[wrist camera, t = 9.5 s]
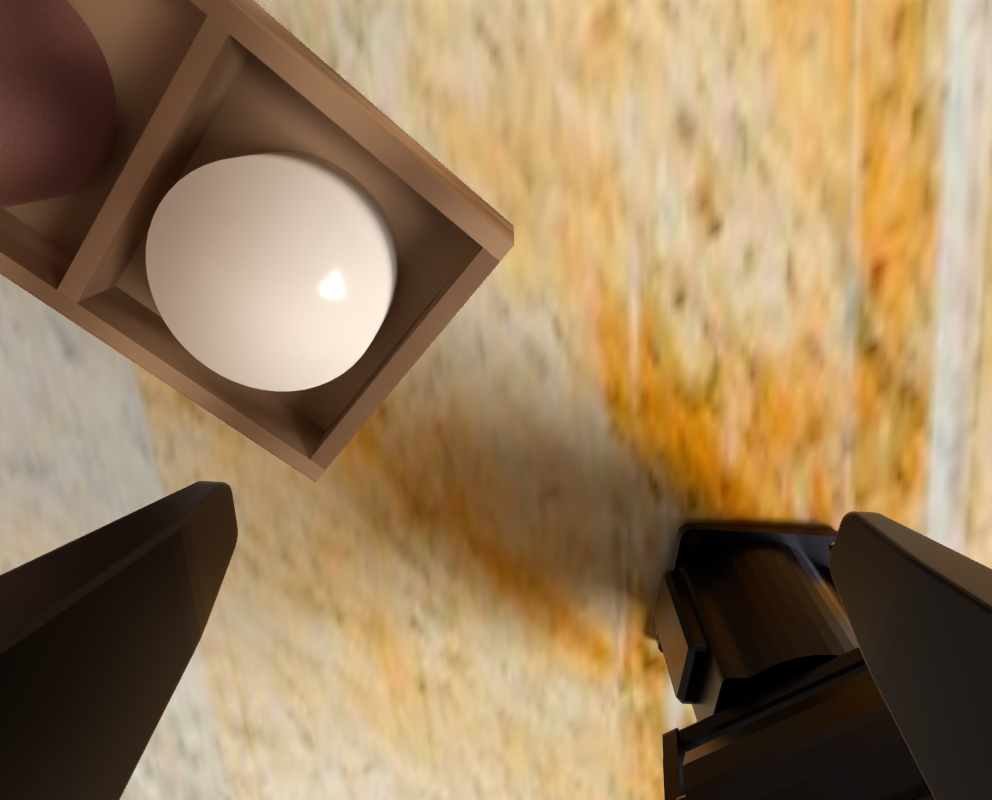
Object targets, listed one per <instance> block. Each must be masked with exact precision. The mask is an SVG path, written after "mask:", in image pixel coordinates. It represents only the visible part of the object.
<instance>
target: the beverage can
mask: <svg viewBox="0 0 992 800" xmlns="http://www.w3.org/2000/svg"><path fill="white" fill-rule="evenodd" d="M116 126H117V98H116V92H115V86H114V82H113V78H112V75H111V72H110V69H109V66H108V64H107V61H106V59H105V57H104V54H103V52H102V50H101V48H100V46H99V44H98V42H97V41H96V39H95V37H94V36H93V34H92V32H91V31H90V29H89V28H88V26H87V25H86V23H85V22H84V20H83V19H82V18H81V16H80V15H79V14H78V13H77V11H76V10H75V9H74V8H73V7H72V6H71V4H70V3H69V2H68V1H67V0H0V209H1V208H6V207H11V206H16V205H22V204H27V203H32V202H37V201H42V200H48V199H53V198H58V197H61V196H65V195H67V194H70V193H72V192H74V191H76V190H78V189H80V188H81V187H83V186H84V185H86V184H87V183H88V182H89V181H91V180H92V179H93V178H94V177H95V176H96V174H97V173H98V172H99V171H100V169H101V168H102V166H103V165H104V163H105V162H106V160H107V158H108V156H109V153H110V151H111V148H112V145H113V142H114V137H115V133H116Z"/></svg>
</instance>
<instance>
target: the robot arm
mask: <svg viewBox="0 0 992 800" xmlns="http://www.w3.org/2000/svg"><path fill="white" fill-rule="evenodd" d="M692 534H696V537H694V538H691V539H689V538H688V536H690V535H692ZM237 537H238V528H237V521H236V515H235V508H234V502H233V495H232V490H231V488H230V486H229V485H228V484H227V483H225V482H211V481H199V482H196V483H194V484H192V485H190V486H188V487H186V488H183V489H181V490H179V491H177V492H175V493H173V494H171V495H169V496H167V497H164V498H162V499H160V500H158V501H156V502H154V503H152V504H150V505H148V506H145V507H143V508H141V509H139V510H137V511H135V512H133V513H131V514H129V515H127V516H124V517H122V518H120V519H118V520H116V521H114V522H112V523H110V524H108V525H105V526H103V527H101V528H99V529H97V530H95V531H93V532H91V533H89V534H86V535H84V536H82V537H80V538H78V539H76V540H74V541H72V542H70V543H67V544H65V545H63V546H61V547H59V548H57V549H55V550H53V551H51V552H48V553H46V554H44V555H42V556H40V557H38V558H36V559H34V560H32V561H29V562H27V563H25V564H23V565H21V566H19V567H17V568H15V569H13V570H11V571H8V572H6V573H4V574H2V575H0V800H119V799H120V798H121V796H122V794H123V792H124V790H125V788H126V786H127V784H128V782H129V780H130V778H131V776H132V774H133V772H134V770H135V768H136V766H137V764H138V762H139V760H140V758H141V756H142V754H143V752H144V750H145V748H146V746H147V744H148V742H149V740H150V738H151V736H152V734H153V732H154V730H155V728H156V726H157V725H158V723H159V721H160V719H161V717H162V715H163V713H164V711H165V709H166V707H167V705H168V703H169V701H170V699H171V697H172V695H173V693H174V691H175V689H176V687H177V685H178V683H179V681H180V679H181V677H182V675H183V673H184V671H185V669H186V667H187V665H188V663H189V661H190V659H191V657H192V655H193V654H194V651H195V649H196V647H197V645H198V643H199V641H200V639H201V637H202V634H203V632H204V629H205V627H206V624H207V622H208V619H209V617H210V614H211V611H212V608H213V606H214V603H215V600H216V598H217V595H218V592H219V590H220V587H221V584H222V581H223V579H224V576H225V573H226V571H227V568H228V565H229V563H230V560H231V557H232V555H233V552H234V549H235V546H236V543H237ZM832 542H834V544H833V545H831V546H829V545H830V544H831V543H832ZM654 622H655V626H656V629H657V637H656V640H657V645H658V648H659V650H660V651H661V652H662V653H663V654H664V657H665V661H666V664H667V668H668V671H669V675H670V678H671V682H672V685H673V689H674V692H675V696H676V697H677V699H678V700H679V701H680V702H681V703H683V704H692V706H693V709H694V713H695V716H696V719H697V722H696V723H694V724H691V725H689V726H687V727H685V728H683V729H681V730H679V729H678V728H675V729H673V730H671V731H669V732H667V733H665V734H663V771H664V792H665V800H992V569H990V568H988V567H986V566H984V565H982V564H980V563H978V562H976V561H974V560H972V559H970V558H968V557H966V556H964V555H962V554H960V553H958V552H956V551H954V550H952V549H950V548H948V547H946V546H944V545H942V544H940V543H938V542H936V541H934V540H932V539H930V538H928V537H926V536H924V535H922V534H920V533H918V532H916V531H913V530H911V529H909V528H907V527H905V526H903V525H901V524H899V523H897V522H895V521H893V520H891V519H889V518H887V517H885V516H883V515H881V514H879V513H874V512H849V513H847V514H846V515H845V516H844V517H843V519H842V521H841V524H840V527H839V530H838V531H835V530H822V529H803V528H783V527H764V526H745V525H725V524H706V523H688V524H685V525H683V526H682V527H681V528H680V529H679V532H678V535H677V540H676V545H675V550H674V555H673V560H672V564H671V569H670V570H667V571H666V572H665V573H664V574H663V577H662V582H661V587H660V592H659V597H658V602H657V607H656V612H655V617H654Z"/></svg>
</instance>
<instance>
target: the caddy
mask: <svg viewBox="0 0 992 800" xmlns="http://www.w3.org/2000/svg"><path fill="white" fill-rule="evenodd" d="M67 1H68V2H69V3H70V4H71V6H72V7H73V8H74V9H75V10H76V11H77V13H78V14H79V15H80V16H81V18H82V19H83V20H84V22H85V23H86V25H87V26H88V28H89V29H90V31H91V32H92V34H93V36H94V37H95V39H96V41H97V42H98V44H99V46H100V48H101V50H102V52H103V54H104V57H105V59H106V61H107V64H108V66H109V69H110V72H111V75H112V78H113V82H114V86H115V92H116V98H117V126H116V133H115V137H114V142H113V145H112V148H111V151H110V153H109V156H108V158H107V160H106V162H105V163H104V165H103V166H102V168H101V169H100V171H99V172H98V173H97V174H96V176H95V177H94V178H93V179H92V180H91V181H89V182H88V183H87V184H86V185H84V186H83V187H81V188H80V189H78V190H76V191H74V192H72V193H70V194H67V195H65V196H61V197H58V198H53V199H48V200H42V201H37V202H32V203H27V204H22V205H16V206H11V207H6V208H1V209H0V274H2V275H3V276H5V277H6V278H8V279H9V280H11V281H12V282H14V283H15V284H17V285H18V286H20V287H21V288H23V289H24V290H26V291H27V292H29V293H30V294H32V295H33V296H35V297H36V298H38V299H39V300H41V301H42V302H44V303H45V304H47V305H48V306H50V307H51V308H53V309H54V310H56V311H58V312H59V313H61V314H62V315H64V316H65V317H67V318H68V319H70V320H71V321H73V322H74V323H76V324H77V325H79V326H80V327H82V328H83V329H85V330H86V331H88V332H89V333H91V334H92V335H94V336H95V337H97V338H98V339H100V340H101V341H103V342H104V343H106V344H107V345H109V346H110V347H112V348H113V349H115V350H116V351H118V352H119V353H121V354H122V355H124V356H126V357H127V358H129V359H130V360H132V361H133V362H135V363H136V364H138V365H139V366H141V367H142V368H144V369H145V370H147V371H148V372H150V373H151V374H153V375H154V376H156V377H157V378H159V379H160V380H162V381H163V382H165V383H166V384H168V385H169V386H171V387H172V388H174V389H175V390H177V391H178V392H180V393H181V394H183V395H184V396H186V397H187V398H189V399H190V400H192V401H194V402H195V403H197V404H198V405H200V406H201V407H203V408H204V409H206V410H207V411H209V412H210V413H212V414H213V415H215V416H216V417H218V418H219V419H221V420H222V421H224V422H225V423H227V424H228V425H230V426H231V427H233V428H234V429H236V430H237V431H239V432H240V433H242V434H243V435H245V436H246V437H248V438H249V439H251V440H252V441H254V442H255V443H257V444H259V445H260V446H262V447H263V448H265V449H266V450H268V451H269V452H271V453H272V454H274V455H275V456H277V457H278V458H280V459H281V460H283V461H284V462H286V463H287V464H289V465H290V466H292V467H293V468H295V469H296V470H298V471H299V472H301V473H302V474H304V475H305V476H307V477H308V478H310V479H311V480H313V481H314V482H315V481H316V480H317V479H318V478H319V477H320V475H321V474H322V473H323V472H324V471H325V470H326V468H327V467H328V466H329V465H330V464H331V462H332V461H333V460H334V459H335V458H336V456H337V455H338V454H339V453H340V452H341V450H342V449H343V448H344V447H345V446H346V445H347V443H348V442H349V441H350V440H351V439H352V437H353V436H354V435H355V434H356V433H357V431H358V430H359V429H360V428H361V427H362V425H363V424H364V423H365V422H366V421H367V419H368V418H369V417H370V416H371V415H372V414H373V412H374V411H375V410H376V409H377V408H378V406H379V405H380V404H381V403H382V402H383V400H384V399H385V398H386V397H387V396H388V394H389V393H390V392H391V391H392V390H393V388H394V387H395V386H396V385H397V384H398V383H399V381H400V380H401V379H402V378H403V377H404V375H405V374H406V373H407V372H408V371H409V369H410V368H411V367H412V366H413V365H414V363H415V362H416V361H417V360H418V359H419V358H420V356H421V355H422V354H423V353H424V352H425V350H426V349H427V348H428V347H429V346H430V344H431V343H432V342H433V341H434V340H435V338H436V337H437V336H438V335H439V334H440V332H441V331H442V330H443V329H444V328H445V327H446V325H447V324H448V323H449V322H450V321H451V319H452V318H453V317H454V316H455V315H456V313H457V312H458V311H459V310H460V309H461V307H462V306H463V305H464V304H465V303H466V301H467V300H468V299H469V298H470V297H471V296H472V294H473V293H474V292H475V291H476V290H477V288H478V287H479V286H480V285H481V284H482V282H483V281H484V280H485V279H486V278H487V276H488V275H489V274H490V273H491V272H492V271H493V269H494V268H495V267H496V266H497V265H498V263H499V262H500V261H501V260H502V259H503V257H504V256H505V255H506V254H507V253H508V251H509V250H510V249H511V248H512V247H513V245H514V232H513V225H512V224H511V223H509V222H508V221H507V220H506V219H505V218H504V217H503V216H501V215H500V214H499V213H498V212H497V211H496V210H494V209H493V208H492V207H491V206H490V205H489V204H488V203H486V202H485V201H484V200H483V199H482V198H481V197H479V196H478V195H477V194H476V193H475V192H474V191H473V190H471V189H470V188H469V187H468V186H467V185H466V184H464V183H463V182H462V181H461V180H460V179H459V178H457V177H456V176H455V175H454V174H453V173H452V172H451V171H449V170H448V169H447V168H446V167H445V166H444V165H442V164H441V163H440V162H439V161H438V160H437V159H436V158H434V157H433V156H432V155H431V154H430V153H429V152H427V151H426V150H425V149H424V148H423V147H422V146H421V145H419V144H418V143H417V142H416V141H415V140H414V139H412V138H411V137H410V136H409V135H408V134H407V133H406V132H404V131H403V130H402V129H401V128H400V127H399V126H397V125H396V124H395V123H394V122H393V121H392V120H390V119H389V118H388V117H387V116H386V115H385V114H384V113H382V112H381V111H380V110H379V109H378V108H377V107H375V106H374V105H373V104H372V103H371V102H370V101H369V100H367V99H366V98H365V97H364V96H363V95H362V94H360V93H359V92H358V91H357V90H356V89H355V88H354V87H352V86H351V85H350V84H349V83H348V82H347V81H345V80H344V79H343V78H342V77H341V76H340V75H339V74H337V73H336V72H335V71H334V70H333V69H332V68H330V67H329V66H328V65H327V64H326V63H325V62H323V61H322V60H321V59H320V58H319V57H318V56H317V55H315V54H314V53H313V52H312V51H311V50H310V49H308V48H307V47H306V46H305V45H304V44H303V43H302V42H300V41H299V40H298V39H297V38H296V37H295V36H293V35H292V34H291V33H290V32H289V31H288V30H287V29H285V28H284V27H283V26H282V25H281V24H280V23H278V22H277V21H276V20H275V19H274V18H273V17H272V16H270V15H269V14H268V13H267V12H266V11H265V10H263V9H262V8H261V7H260V6H259V5H258V4H256V3H255V2H254V1H253V0H67ZM272 151H293V152H301V153H306V154H309V155H313V156H317V157H319V158H322V159H324V160H327V161H329V162H331V163H333V164H335V165H337V166H339V167H340V168H342V169H344V170H345V171H347V172H348V173H349V174H351V175H352V176H353V177H355V178H356V179H357V180H358V181H359V182H360V183H361V184H363V185H364V186H365V187H366V188H367V189H368V190H369V192H370V193H371V194H372V195H373V196H374V198H375V199H376V200H377V201H378V203H379V205H380V206H381V208H382V209H383V211H384V212H385V214H386V216H387V218H388V220H389V222H390V224H391V227H392V229H393V232H394V235H395V238H396V242H397V247H398V252H399V262H400V275H399V284H398V289H397V294H396V296H395V299H394V302H393V305H392V307H391V309H390V311H389V313H388V315H387V317H386V318H385V320H384V322H383V324H382V325H381V327H380V329H379V330H378V332H377V334H376V335H375V337H374V339H373V340H372V342H371V344H370V345H369V347H368V348H367V350H366V351H365V352H364V354H363V355H362V356H361V358H360V359H359V360H358V361H357V362H356V363H355V364H354V365H353V366H352V367H351V368H349V369H348V370H347V371H346V372H344V373H343V374H341V375H340V376H338V377H336V378H335V379H333V380H331V381H329V382H327V383H324V384H322V385H319V386H316V387H312V388H309V389H305V390H297V391H269V390H261V389H257V388H252V387H248V386H245V385H242V384H239V383H237V382H234V381H232V380H230V379H227V378H225V377H223V376H221V375H219V374H218V373H216V372H214V371H213V370H211V369H210V368H208V367H206V366H205V365H204V364H203V363H201V362H200V361H199V360H197V359H196V358H195V357H194V356H193V355H192V354H191V353H190V352H188V351H187V350H186V349H185V348H184V347H183V346H182V344H181V343H180V342H179V341H178V340H177V339H176V337H175V336H174V335H173V334H172V332H171V331H170V329H169V328H168V326H167V325H166V323H165V322H164V320H163V318H162V316H161V314H160V312H159V310H158V308H157V306H156V304H155V301H154V298H153V296H152V293H151V290H150V286H149V282H148V278H147V269H146V243H147V237H148V231H149V228H150V225H151V221H152V218H153V216H154V214H155V212H156V210H157V208H158V206H159V204H160V202H161V201H162V200H163V198H164V197H165V195H166V194H167V193H168V191H169V190H170V189H171V188H172V187H173V186H174V185H175V184H176V183H177V182H178V181H179V180H181V179H182V178H183V177H185V176H186V175H188V174H189V173H190V172H192V171H194V170H196V169H198V168H200V167H202V166H204V165H206V164H209V163H213V162H216V161H219V160H223V159H230V158H236V157H242V156H248V155H254V154H260V153H266V152H272Z"/></svg>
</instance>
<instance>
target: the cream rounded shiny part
mask: <svg viewBox="0 0 992 800" xmlns="http://www.w3.org/2000/svg"><path fill="white" fill-rule="evenodd" d="M146 269H147V278H148V282H149V286H150V290H151V293H152V296H153V298H154V301H155V304H156V306H157V308H158V310H159V312H160V314H161V316H162V318H163V320H164V322H165V323H166V325H167V326H168V328H169V329H170V331H171V332H172V334H173V335H174V336H175V337H176V339H177V340H178V341H179V342H180V343H181V344H182V346H183V347H184V348H185V349H186V350H187V351H188V352H190V353H191V354H192V355H193V356H194V357H195V358H196V359H197V360H199V361H200V362H201V363H203V364H204V365H205V366H206V367H208V368H210V369H211V370H213V371H214V372H216V373H218V374H219V375H221V376H223V377H225V378H227V379H230V380H232V381H234V382H237V383H239V384H242V385H245V386H248V387H252V388H257V389H261V390H269V391H297V390H305V389H309V388H312V387H316V386H319V385H322V384H324V383H327V382H329V381H331V380H333V379H335V378H336V377H338V376H340V375H341V374H343V373H344V372H346V371H347V370H348V369H349V368H351V367H352V366H353V365H354V364H355V363H356V362H357V361H358V360H359V359H360V358H361V356H362V355H363V354H364V352H365V351H366V350H367V348H368V347H369V345H370V344H371V342H372V340H373V339H374V337H375V335H376V334H377V332H378V330H379V329H380V327H381V325H382V324H383V322H384V320H385V318H386V317H387V315H388V313H389V311H390V309H391V307H392V305H393V302H394V299H395V296H396V294H397V289H398V284H399V275H400V262H399V252H398V247H397V242H396V238H395V235H394V232H393V229H392V227H391V224H390V222H389V220H388V218H387V216H386V214H385V212H384V211H383V209H382V208H381V206H380V205H379V203H378V201H377V200H376V199H375V198H374V196H373V195H372V194H371V193H370V192H369V190H368V189H367V188H366V187H365V186H364V185H363V184H361V183H360V182H359V181H358V180H357V179H356V178H355V177H353V176H352V175H351V174H349V173H348V172H347V171H345V170H344V169H342V168H340V167H339V166H337V165H335V164H333V163H331V162H329V161H327V160H324V159H322V158H319V157H317V156H313V155H309V154H306V153H301V152H293V151H272V152H266V153H260V154H254V155H248V156H242V157H236V158H230V159H223V160H219V161H216V162H213V163H209V164H206V165H204V166H202V167H200V168H198V169H196V170H194V171H192V172H190V173H189V174H188V175H186V176H185V177H183V178H182V179H181V180H179V181H178V182H177V183H176V184H175V185H174V186H173V187H172V188H171V189H170V190H169V191H168V193H167V194H166V195H165V197H164V198H163V200H162V201H161V202H160V204H159V206H158V208H157V210H156V212H155V214H154V216H153V218H152V221H151V225H150V228H149V231H148V237H147V243H146Z"/></svg>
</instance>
